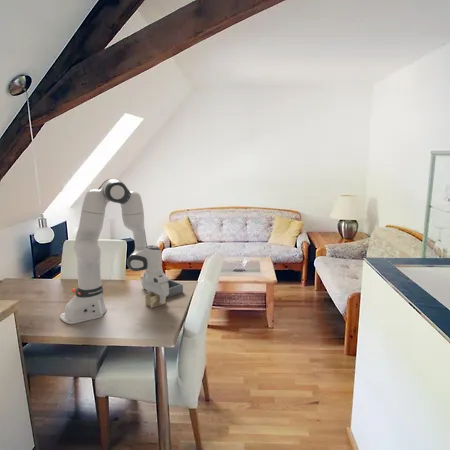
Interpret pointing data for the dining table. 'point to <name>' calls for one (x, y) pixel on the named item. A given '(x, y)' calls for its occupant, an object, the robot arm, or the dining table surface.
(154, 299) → the pine crate
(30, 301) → the dining table surface
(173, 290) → the grey crate
